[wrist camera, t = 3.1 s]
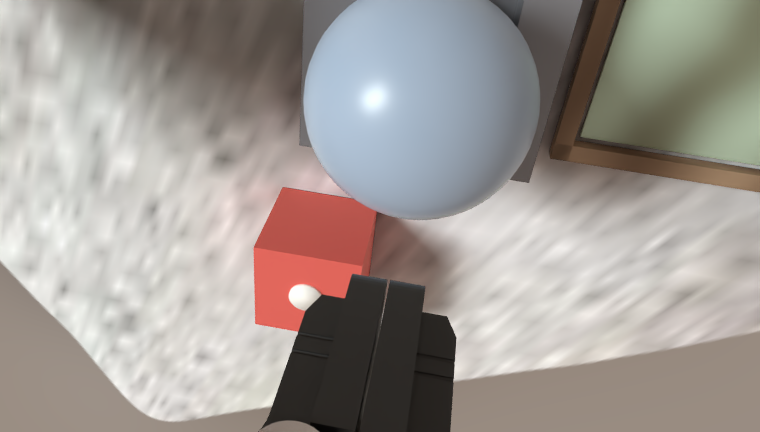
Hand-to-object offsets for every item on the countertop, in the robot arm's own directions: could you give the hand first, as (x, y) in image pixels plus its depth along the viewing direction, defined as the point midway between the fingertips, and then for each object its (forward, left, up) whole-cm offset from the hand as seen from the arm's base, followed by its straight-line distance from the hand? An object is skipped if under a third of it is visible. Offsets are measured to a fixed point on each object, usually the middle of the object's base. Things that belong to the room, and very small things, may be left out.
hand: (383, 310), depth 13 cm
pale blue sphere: (0, 0, -14) cm, 14 cm away
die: (-4, -12, -17) cm, 21 cm away
